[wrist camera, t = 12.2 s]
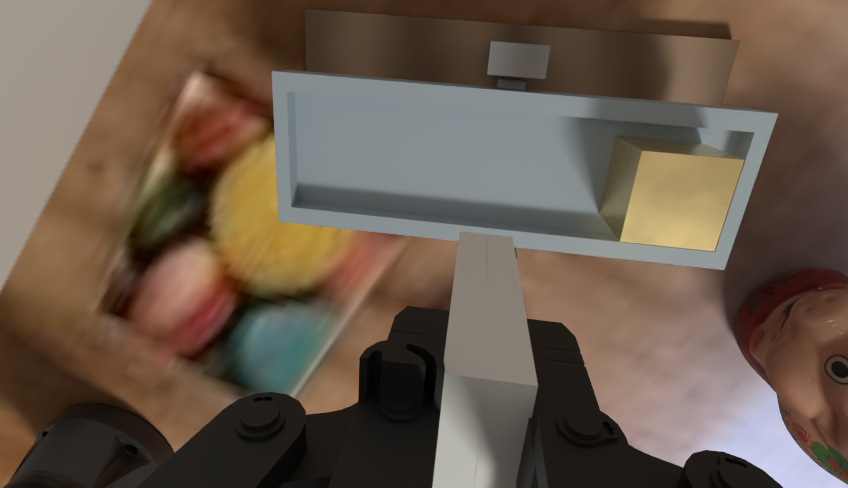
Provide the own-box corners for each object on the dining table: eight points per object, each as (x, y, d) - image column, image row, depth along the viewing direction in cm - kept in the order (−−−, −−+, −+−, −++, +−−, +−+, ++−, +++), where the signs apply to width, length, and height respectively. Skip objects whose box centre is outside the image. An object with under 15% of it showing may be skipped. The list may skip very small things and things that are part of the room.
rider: (598, 213, 28) (619, 241, 23) (616, 135, 26) (642, 150, 22) (678, 221, 27) (714, 251, 23) (701, 142, 25) (744, 159, 21)
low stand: (313, 220, 40) (261, 270, 31) (309, 10, 34) (243, -7, 25) (668, 259, 37) (728, 326, 28) (732, 40, 31) (835, 34, 22)
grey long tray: (313, 198, 35) (279, 227, 29) (311, 61, 31) (271, 63, 25) (678, 236, 33) (722, 276, 27) (720, 95, 29) (781, 105, 23)
